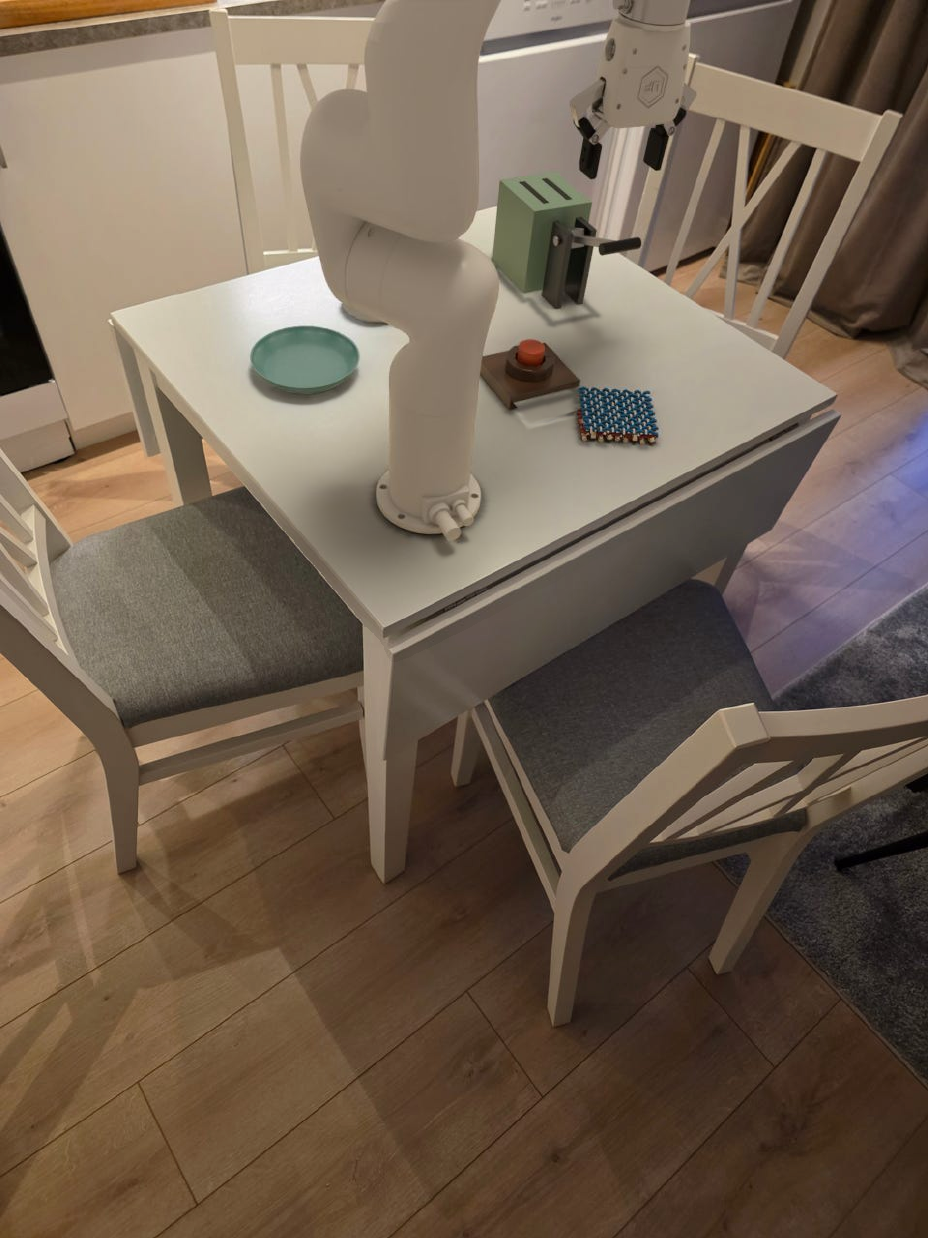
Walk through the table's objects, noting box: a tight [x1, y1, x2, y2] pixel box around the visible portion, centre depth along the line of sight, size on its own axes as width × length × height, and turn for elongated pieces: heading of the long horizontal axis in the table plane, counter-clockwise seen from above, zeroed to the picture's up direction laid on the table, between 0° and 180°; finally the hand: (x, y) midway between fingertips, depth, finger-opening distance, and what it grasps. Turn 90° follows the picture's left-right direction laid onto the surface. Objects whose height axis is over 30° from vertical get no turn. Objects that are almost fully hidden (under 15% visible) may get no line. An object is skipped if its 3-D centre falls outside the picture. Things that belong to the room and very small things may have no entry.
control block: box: [480, 342, 581, 411], centre depth 114 cm, size 10×11×4 cm
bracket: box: [541, 217, 598, 310], centre depth 125 cm, size 8×8×13 cm
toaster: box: [491, 171, 593, 294], centre depth 129 cm, size 11×10×14 cm
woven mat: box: [576, 385, 659, 446], centre depth 111 cm, size 10×11×2 cm
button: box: [517, 338, 545, 366], centre depth 112 cm, size 4×4×2 cm
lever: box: [567, 227, 642, 257], centre depth 117 cm, size 14×6×2 cm, turn 25°
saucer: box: [249, 325, 361, 395], centre depth 113 cm, size 15×15×3 cm
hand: (619, 170), depth 103 cm, fingers open, 9 cm apart
